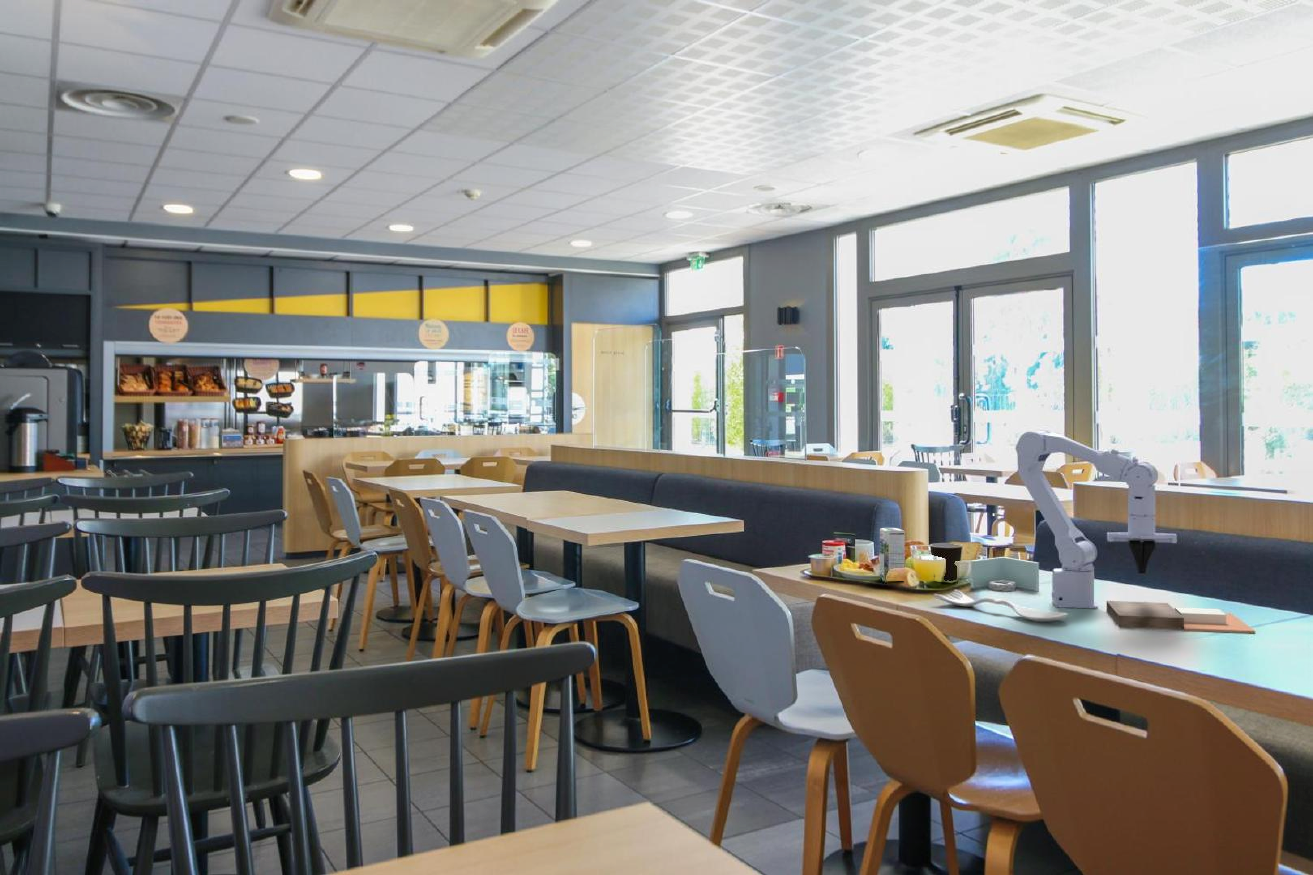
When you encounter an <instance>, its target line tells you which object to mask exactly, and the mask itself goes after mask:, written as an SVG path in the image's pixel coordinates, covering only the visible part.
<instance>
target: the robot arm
mask: <svg viewBox="0 0 1313 875" xmlns="http://www.w3.org/2000/svg"><path fill="white" fill-rule="evenodd" d="M1014 449H1015V452H1016V454H1017V473H1018V476H1019V478H1020V480H1021V481H1022V483H1023V484H1024V486H1025V488H1026V490H1027V492H1028V493H1029V494H1030V496H1031V498H1032V500H1033V502H1034V503H1035V505H1036V506H1037V508H1038V510H1039V512H1040V513H1041V515H1042V517H1043V519H1044V520H1045V522H1046V524H1047V525H1048V527H1049V528H1050V530H1051V532H1052V534H1053V536H1054V546H1055V547H1056V549H1057V551H1058V558H1059V559H1058V560H1059V562H1060V563H1061V567H1060V568H1053V569H1052V574H1051V575H1052V576H1051V577H1052V578H1051V579H1052V581H1051V582H1052V583H1051V587H1052V589H1051V600H1052V602H1053V604H1054V606H1055V608H1073V609H1074V608H1077V609H1079V608H1080V609H1098V608H1099V606H1098V605H1097V604H1096V602H1095V566H1094V565H1093V562H1094V561H1095V560H1096V558H1097V556H1098V549H1097V547H1096V545H1095V544H1094V543H1093V542H1092V541H1091V540H1089V539H1088V538H1086V536H1085V534H1084V533H1083V532H1082V531H1081V530H1080V529H1078V528H1077V527H1076V526H1075V524H1074V523H1073V521H1072V520H1071V517H1070V516H1069V514H1068V513H1067V511H1066V509H1065V508H1064V506H1063V504H1062V502H1061V501H1060V499H1059V497H1058V495H1057V494H1056V492H1055V491H1054V489H1053V487H1052V486H1051V484H1050V483H1049V480H1048V479H1047V477H1046V476H1045V474H1044V472H1043V469H1044V467H1045V464H1046V462H1047V461H1046V460H1047V459H1048V458H1049V456H1050V455H1051V454H1054V453H1055V454H1056V453H1061V454H1062V453H1063V454H1064V455H1065V454H1066V455H1068V456H1071V457H1073V458H1076V459H1079V460H1083V461H1085V462H1088V463H1090V464H1093V465H1094V467H1095V469H1096V472H1098V473H1100V474H1103V475H1105V476H1108V477H1111V478H1113V479H1116V480H1118V481H1121V482H1125V483H1126V484H1127V486H1128V496H1127V500H1128V501H1127V504H1128V505H1127V506H1128V508H1127V531H1124V532H1123V531H1121V532H1117V531H1116V532H1115V531H1114V532H1109V531H1108V532H1106V539H1107V542H1109V543H1112V542H1127V544H1128V548H1130V550H1131V553H1132V556H1133V558H1134V561H1135V565H1136V571H1137V573H1138V574H1142V575H1143V574H1146V573H1147V567H1148V564H1149V561H1150V559H1151V556H1152V554H1153V553H1154V551H1155V550H1156V546H1157V544H1156V543H1171V544H1178V543H1177V542H1178V540H1177V539H1178V537H1177V536H1178V535H1177V534H1176V533H1165V532H1156V485H1155V484H1156V483H1157V481H1158V477H1159V473H1158V470H1157V468H1156V467H1155V466H1154V465H1152V464H1150V462H1147V461H1143V462H1139V460H1140V459H1139V458H1137V457H1133V458H1130V457H1128V456H1126V455H1123V454H1120V453H1119V450H1118V449H1115V448H1113V449H1111V450H1110V449H1108V448H1107V449H1105V450H1101V451H1098V450H1096V449H1094V448H1092V447H1090V446H1087V445H1085V444H1083V443H1081V442H1078V441H1075V440H1074V439H1071V438H1070V437H1067V436H1064V435H1062V434H1058V433H1055V432H1050V431H1049V430H1044V429H1041V430H1040V429H1039V430H1038V431H1031V430H1030V431H1026V432H1024V433H1023V434H1021V435H1020V436H1019V439H1018V441H1017V443H1016V446H1015V448H1014Z"/></svg>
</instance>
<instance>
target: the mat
mask: <svg viewBox="0 0 1313 875" xmlns="http://www.w3.org/2000/svg"><path fill="white" fill-rule="evenodd" d="M1224 613H1225V614H1226V624H1218V623H1193V622H1184V629H1183V630H1184V631H1186V632H1187V631H1191V632H1192V631H1193V632H1211V633H1213V632H1214V633H1237V634H1238V633H1239V634H1256V630H1255V629H1253V628H1252V627H1251V626H1249V625H1248V624H1246V622H1244V621H1242V620H1241V619H1239V618H1238V616H1236V615H1234V614H1232V613H1231V612H1224Z"/></svg>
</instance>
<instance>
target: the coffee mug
mask: <svg viewBox="0 0 1313 875" xmlns="http://www.w3.org/2000/svg"><path fill="white" fill-rule="evenodd" d="M954 544H955V543H951V542H949V543H948V542H939V543H936V542H935V543H931V544H930V545H929V548H930V549H929V550H930V555H931V554H932V555H934V556H938V557H942V558H945V559H946V573H945V576H944V580H945V581H947V580H949V581H953V580H956V579H957V566H956V565H955V564H954V563H955V561H961V560H962V552H963V544H960V545H954ZM961 562H962V561H961Z"/></svg>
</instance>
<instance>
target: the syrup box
mask: <svg viewBox="0 0 1313 875" xmlns="http://www.w3.org/2000/svg"><path fill="white" fill-rule="evenodd" d="M905 545H906V531H905V530H903V529H900V528H898V527H882V528H881V527H880V529H879V558H878V560H879V565H878V566H879V570H878V571H879V573H878V574H879V576H881V578H882V580H881V581H883V582H884V583H887V582H886V575H887V573H888V571H889V570H890V569H893V568H905V567H906V566H905V564H906V563H905V560H906V558H905V557H906V555H905V554H906V552H905V551H906V550H905V549H906V546H905ZM905 569H906V568H905Z"/></svg>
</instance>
